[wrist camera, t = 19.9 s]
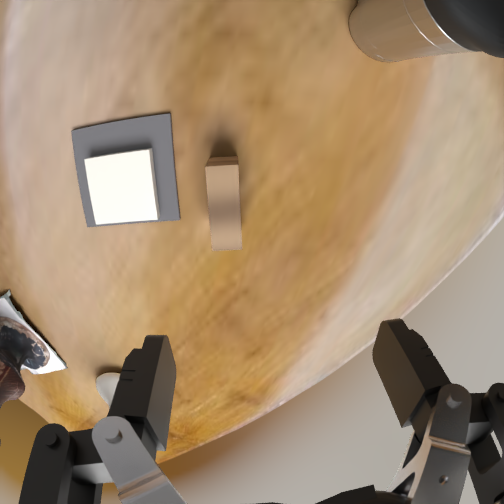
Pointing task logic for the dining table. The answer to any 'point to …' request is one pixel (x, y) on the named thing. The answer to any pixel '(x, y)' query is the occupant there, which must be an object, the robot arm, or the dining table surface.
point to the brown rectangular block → (224, 203)
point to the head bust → (21, 352)
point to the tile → (123, 186)
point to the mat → (127, 139)
